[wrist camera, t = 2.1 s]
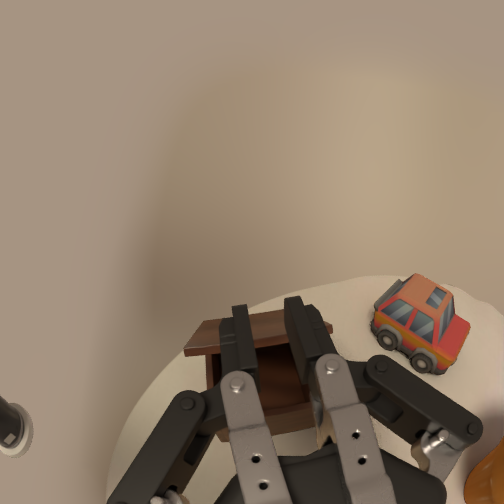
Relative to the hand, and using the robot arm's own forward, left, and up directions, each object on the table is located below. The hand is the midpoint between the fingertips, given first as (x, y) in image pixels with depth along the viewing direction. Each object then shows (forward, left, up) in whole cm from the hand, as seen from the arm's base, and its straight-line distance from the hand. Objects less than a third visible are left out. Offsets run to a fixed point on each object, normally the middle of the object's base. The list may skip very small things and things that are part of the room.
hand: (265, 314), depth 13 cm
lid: (-3, +10, -13) cm, 17 cm away
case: (-3, +9, -26) cm, 28 cm away
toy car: (+22, +20, -26) cm, 39 cm away
